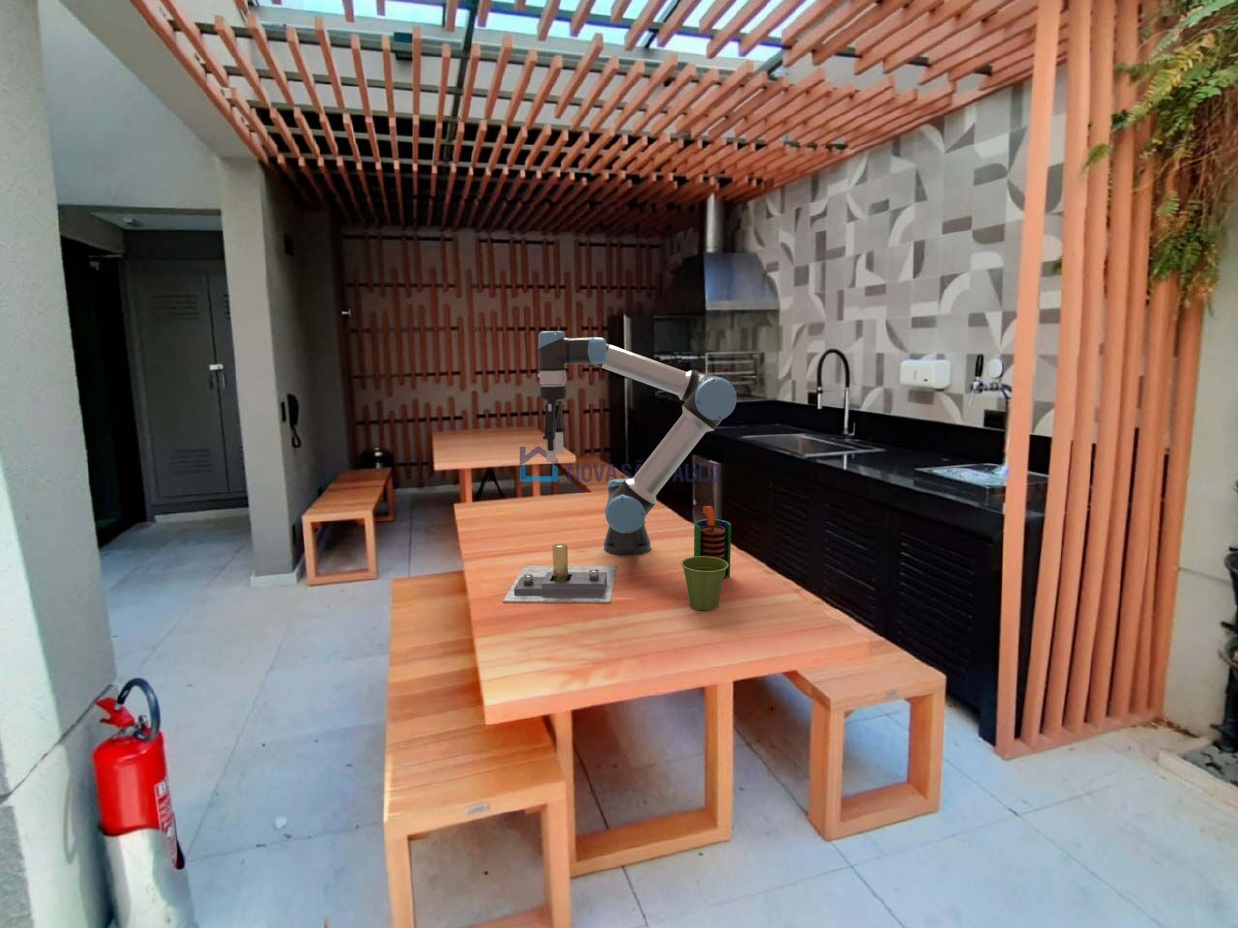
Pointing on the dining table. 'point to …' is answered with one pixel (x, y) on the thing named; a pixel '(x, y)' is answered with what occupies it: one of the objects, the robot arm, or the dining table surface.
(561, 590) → the square hole fixture plate
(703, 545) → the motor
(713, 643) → the dining table surface
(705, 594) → the plant pot
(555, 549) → the brass pin
